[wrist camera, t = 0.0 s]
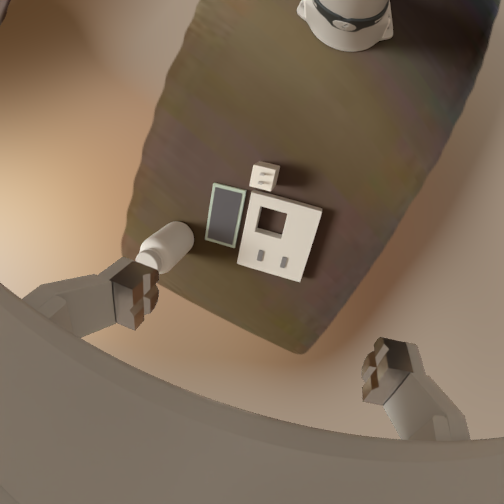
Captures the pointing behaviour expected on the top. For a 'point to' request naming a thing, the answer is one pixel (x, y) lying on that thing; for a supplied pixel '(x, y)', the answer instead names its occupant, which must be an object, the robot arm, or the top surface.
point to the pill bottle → (166, 246)
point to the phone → (225, 214)
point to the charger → (264, 175)
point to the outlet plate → (279, 236)
